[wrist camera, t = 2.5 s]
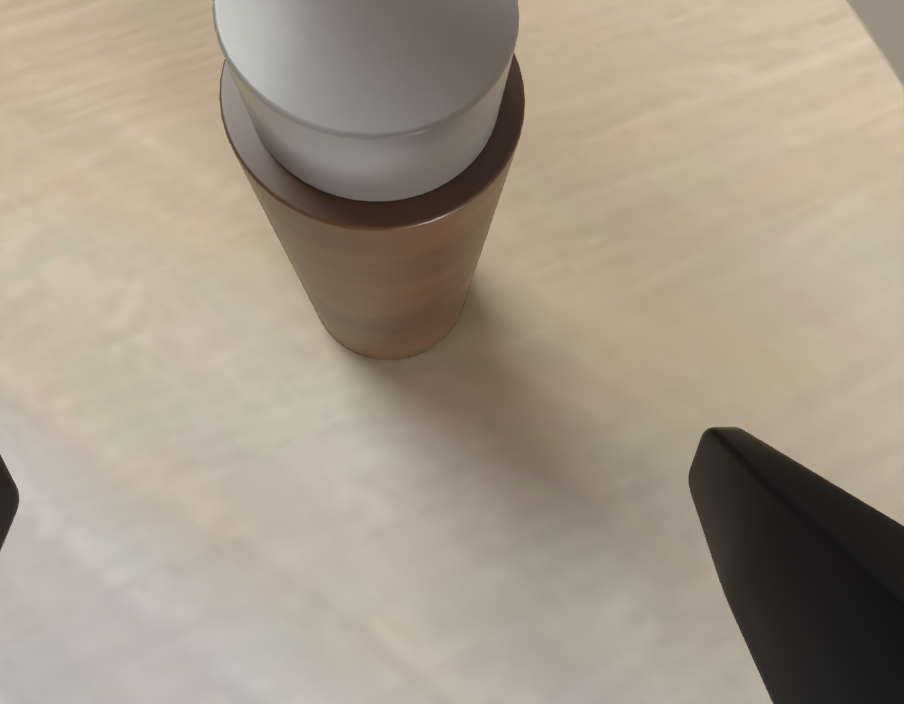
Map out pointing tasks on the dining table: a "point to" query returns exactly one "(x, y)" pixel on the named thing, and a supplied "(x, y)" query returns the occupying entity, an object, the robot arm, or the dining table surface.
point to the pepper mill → (375, 150)
